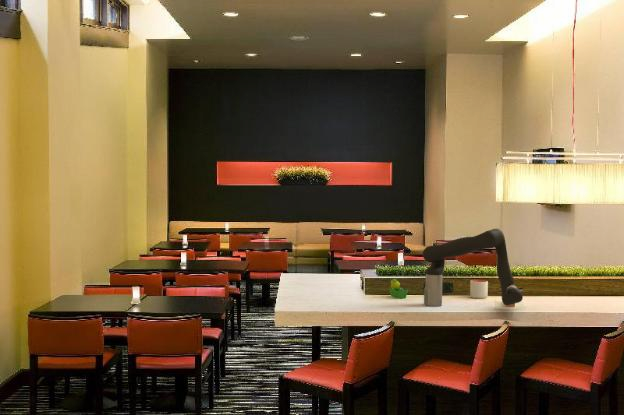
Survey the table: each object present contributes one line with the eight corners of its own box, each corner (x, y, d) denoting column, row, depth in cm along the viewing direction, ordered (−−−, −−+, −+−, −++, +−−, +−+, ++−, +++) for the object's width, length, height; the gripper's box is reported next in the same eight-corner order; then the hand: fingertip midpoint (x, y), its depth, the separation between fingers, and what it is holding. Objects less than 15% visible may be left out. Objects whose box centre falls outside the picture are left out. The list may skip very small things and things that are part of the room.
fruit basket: (408, 298, 475) (409, 279, 474) (395, 299, 472) (395, 280, 471) (399, 295, 485) (400, 276, 485) (386, 296, 482) (386, 277, 481)
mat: (525, 310, 440) (525, 309, 440) (494, 309, 444) (494, 308, 444) (523, 303, 464) (523, 302, 464) (494, 302, 467) (494, 301, 467)
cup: (482, 299, 475) (483, 282, 474) (467, 297, 481) (467, 281, 481) (490, 297, 483) (490, 280, 482) (474, 295, 489) (475, 279, 488)
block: (515, 298, 448) (514, 293, 463) (505, 297, 449) (505, 293, 464) (514, 307, 448) (514, 302, 463) (505, 306, 449) (505, 302, 464)
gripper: (524, 285, 433) (523, 281, 450) (498, 284, 436) (498, 280, 453) (523, 299, 433) (522, 294, 450) (498, 298, 436) (498, 293, 453)
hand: (510, 287), depth 451 cm, fingers closed
